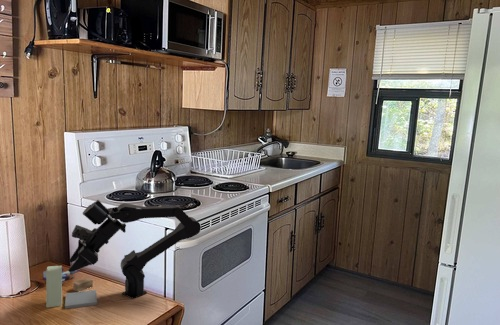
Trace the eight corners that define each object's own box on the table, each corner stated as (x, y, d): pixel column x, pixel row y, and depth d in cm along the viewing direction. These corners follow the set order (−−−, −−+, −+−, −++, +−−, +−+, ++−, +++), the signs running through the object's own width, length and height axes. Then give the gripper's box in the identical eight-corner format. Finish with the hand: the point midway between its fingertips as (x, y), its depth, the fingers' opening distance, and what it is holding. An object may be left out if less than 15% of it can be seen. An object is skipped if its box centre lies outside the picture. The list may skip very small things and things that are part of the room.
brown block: (87, 285, 150) (88, 277, 150) (92, 287, 148) (92, 279, 148) (73, 290, 145) (73, 282, 145) (77, 292, 143) (77, 284, 143)
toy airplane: (87, 275, 158) (87, 267, 158) (66, 289, 145) (66, 280, 144) (58, 272, 160) (58, 263, 160) (34, 286, 147) (34, 276, 146)
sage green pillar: (61, 299, 137) (61, 265, 135) (61, 305, 133) (61, 270, 131) (47, 301, 135) (47, 266, 134) (46, 307, 131) (46, 271, 129)
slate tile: (96, 292, 144) (96, 289, 144) (97, 304, 135) (97, 301, 134) (65, 296, 140) (65, 293, 140) (65, 308, 131) (65, 306, 130)
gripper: (86, 211, 143) (52, 243, 140) (87, 224, 126) (49, 261, 123) (108, 231, 147) (76, 262, 144) (113, 246, 130) (76, 282, 127)
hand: (69, 266), depth 134 cm, fingers open, 9 cm apart
